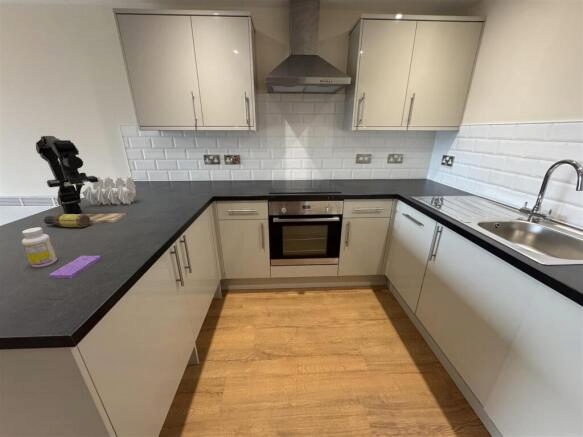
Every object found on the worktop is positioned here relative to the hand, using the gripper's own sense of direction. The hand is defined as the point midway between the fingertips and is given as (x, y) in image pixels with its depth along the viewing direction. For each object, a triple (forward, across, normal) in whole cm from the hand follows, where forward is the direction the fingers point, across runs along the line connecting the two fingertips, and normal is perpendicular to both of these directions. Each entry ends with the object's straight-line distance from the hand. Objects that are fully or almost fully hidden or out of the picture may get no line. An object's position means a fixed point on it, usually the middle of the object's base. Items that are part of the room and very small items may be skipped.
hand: (78, 197), depth 123 cm
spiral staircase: (+12, +20, +22) cm, 32 cm away
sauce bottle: (+9, -2, -14) cm, 17 cm away
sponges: (+13, -14, -57) cm, 60 cm away
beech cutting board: (+12, +6, -4) cm, 14 cm away
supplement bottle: (+12, -20, -45) cm, 51 cm away
